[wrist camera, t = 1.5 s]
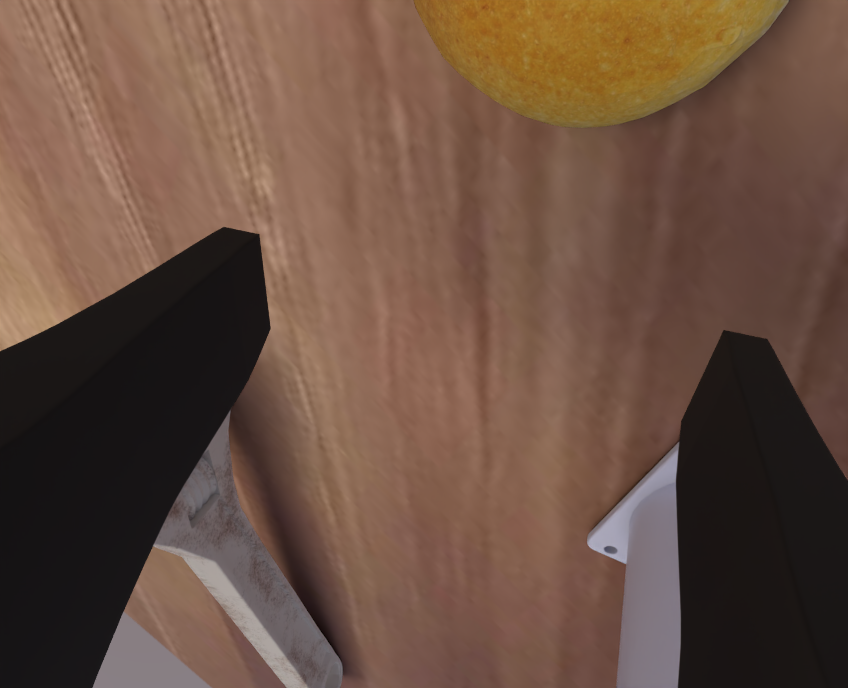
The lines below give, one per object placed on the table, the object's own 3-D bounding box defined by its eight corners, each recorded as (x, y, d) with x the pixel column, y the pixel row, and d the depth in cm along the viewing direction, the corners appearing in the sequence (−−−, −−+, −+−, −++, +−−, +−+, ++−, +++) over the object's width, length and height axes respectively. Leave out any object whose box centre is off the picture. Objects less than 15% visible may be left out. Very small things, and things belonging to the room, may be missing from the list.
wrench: (334, 622, 49) (135, 282, 27) (361, 627, 48) (178, 285, 27) (290, 756, 43) (1, 466, 22) (319, 763, 43) (51, 473, 22)
